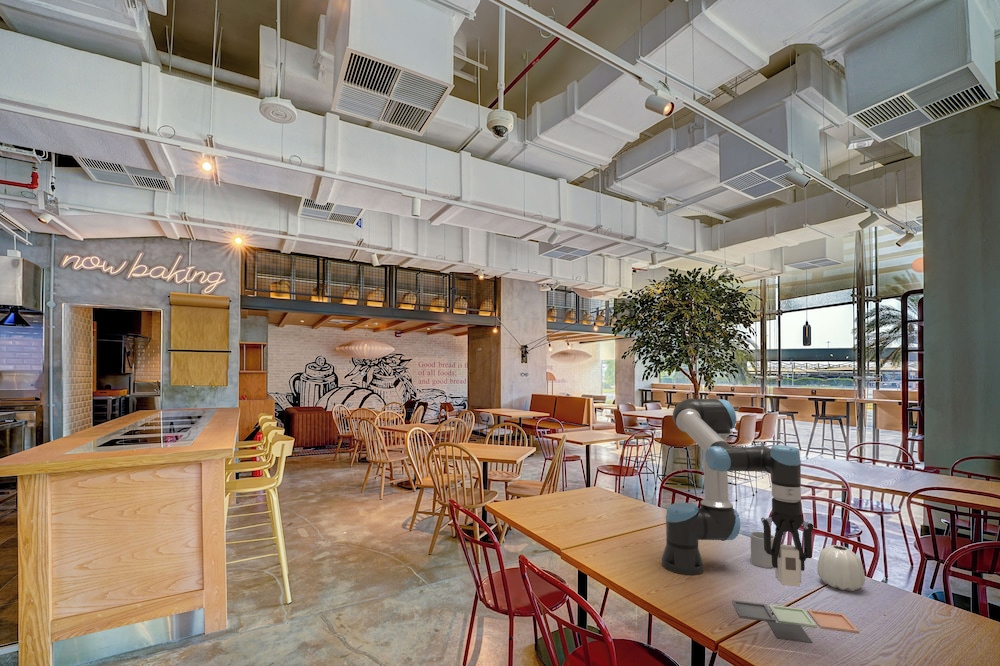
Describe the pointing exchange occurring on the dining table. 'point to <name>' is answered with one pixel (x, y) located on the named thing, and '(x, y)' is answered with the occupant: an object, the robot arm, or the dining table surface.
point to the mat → (789, 632)
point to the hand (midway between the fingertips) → (788, 580)
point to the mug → (760, 550)
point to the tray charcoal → (753, 611)
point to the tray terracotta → (832, 621)
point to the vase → (841, 568)
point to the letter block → (789, 565)
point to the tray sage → (792, 616)
